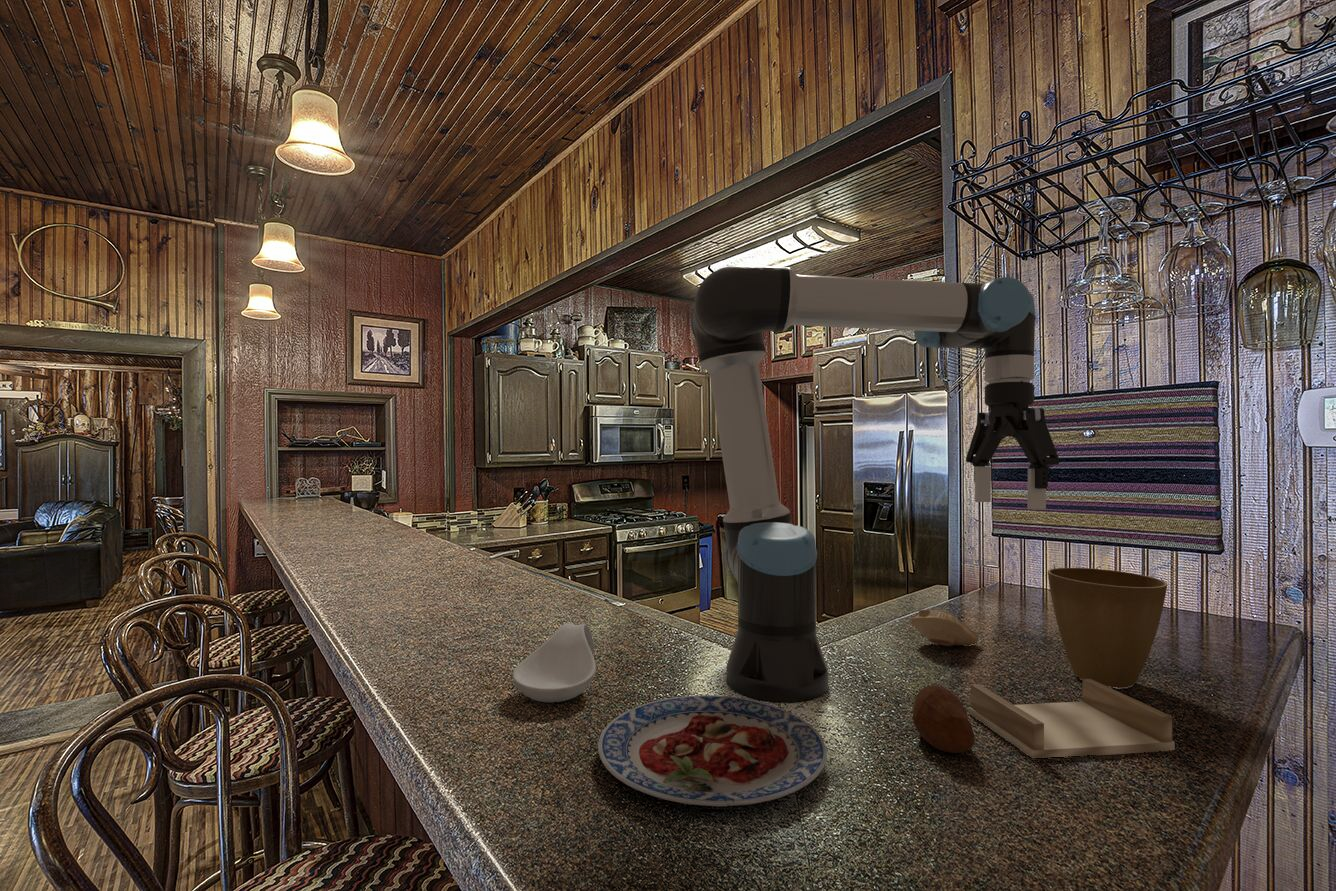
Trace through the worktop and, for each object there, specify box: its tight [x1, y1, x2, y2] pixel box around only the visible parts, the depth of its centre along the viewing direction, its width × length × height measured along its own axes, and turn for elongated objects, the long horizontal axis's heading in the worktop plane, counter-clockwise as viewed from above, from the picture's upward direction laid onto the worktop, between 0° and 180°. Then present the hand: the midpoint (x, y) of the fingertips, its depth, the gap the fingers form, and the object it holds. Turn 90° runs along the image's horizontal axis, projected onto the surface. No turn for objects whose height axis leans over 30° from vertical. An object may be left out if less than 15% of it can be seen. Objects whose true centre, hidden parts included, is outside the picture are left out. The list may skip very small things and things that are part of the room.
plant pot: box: [1047, 567, 1168, 687], centre depth 94 cm, size 15×15×16 cm
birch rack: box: [968, 679, 1176, 758], centre depth 77 cm, size 18×12×4 cm, turn 97°
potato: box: [912, 684, 976, 754], centre depth 74 cm, size 6×12×6 cm, turn 1°
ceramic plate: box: [597, 694, 828, 807], centre depth 71 cm, size 26×26×3 cm
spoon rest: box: [511, 622, 597, 704], centre depth 95 cm, size 24×12×7 cm, turn 176°
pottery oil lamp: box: [910, 609, 979, 647], centre depth 110 cm, size 9×12×7 cm
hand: (1007, 505), depth 107 cm, fingers open, 13 cm apart
